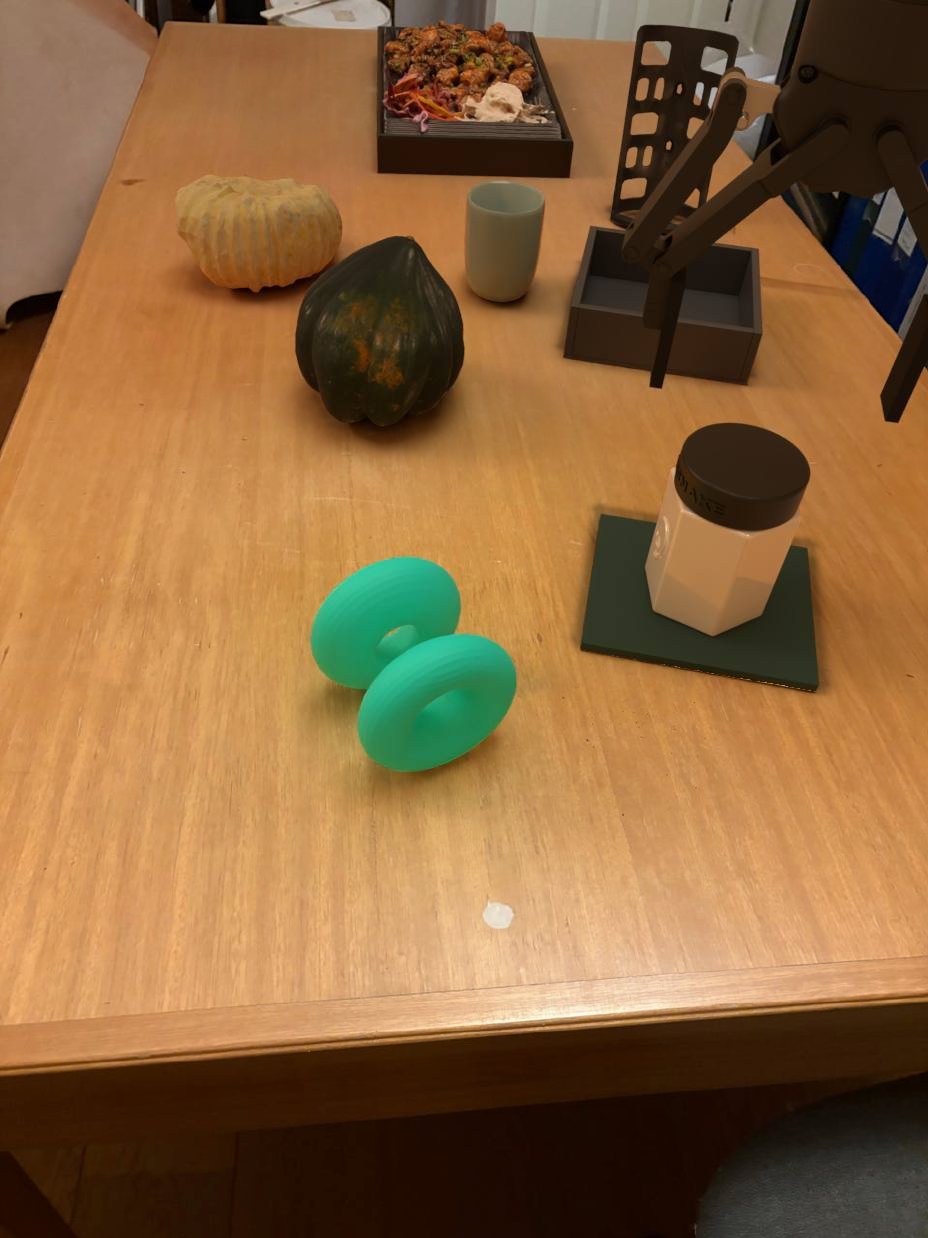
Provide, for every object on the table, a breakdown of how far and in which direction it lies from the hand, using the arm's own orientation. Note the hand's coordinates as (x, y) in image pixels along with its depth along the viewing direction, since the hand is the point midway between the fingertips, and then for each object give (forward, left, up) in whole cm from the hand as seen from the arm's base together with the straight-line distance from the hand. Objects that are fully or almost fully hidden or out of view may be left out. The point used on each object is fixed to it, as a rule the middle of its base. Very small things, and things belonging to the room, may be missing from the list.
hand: (771, 392), depth 55 cm
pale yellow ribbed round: (+47, -39, -18) cm, 64 cm away
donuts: (+18, +15, -18) cm, 30 cm away
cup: (+22, -41, -18) cm, 50 cm away
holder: (+7, -64, -18) cm, 67 cm away
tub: (+5, -39, -18) cm, 43 cm away
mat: (0, 0, -18) cm, 18 cm away
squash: (+29, -19, -18) cm, 39 cm away
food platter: (+36, -92, -18) cm, 100 cm away
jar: (0, 0, -17) cm, 17 cm away
